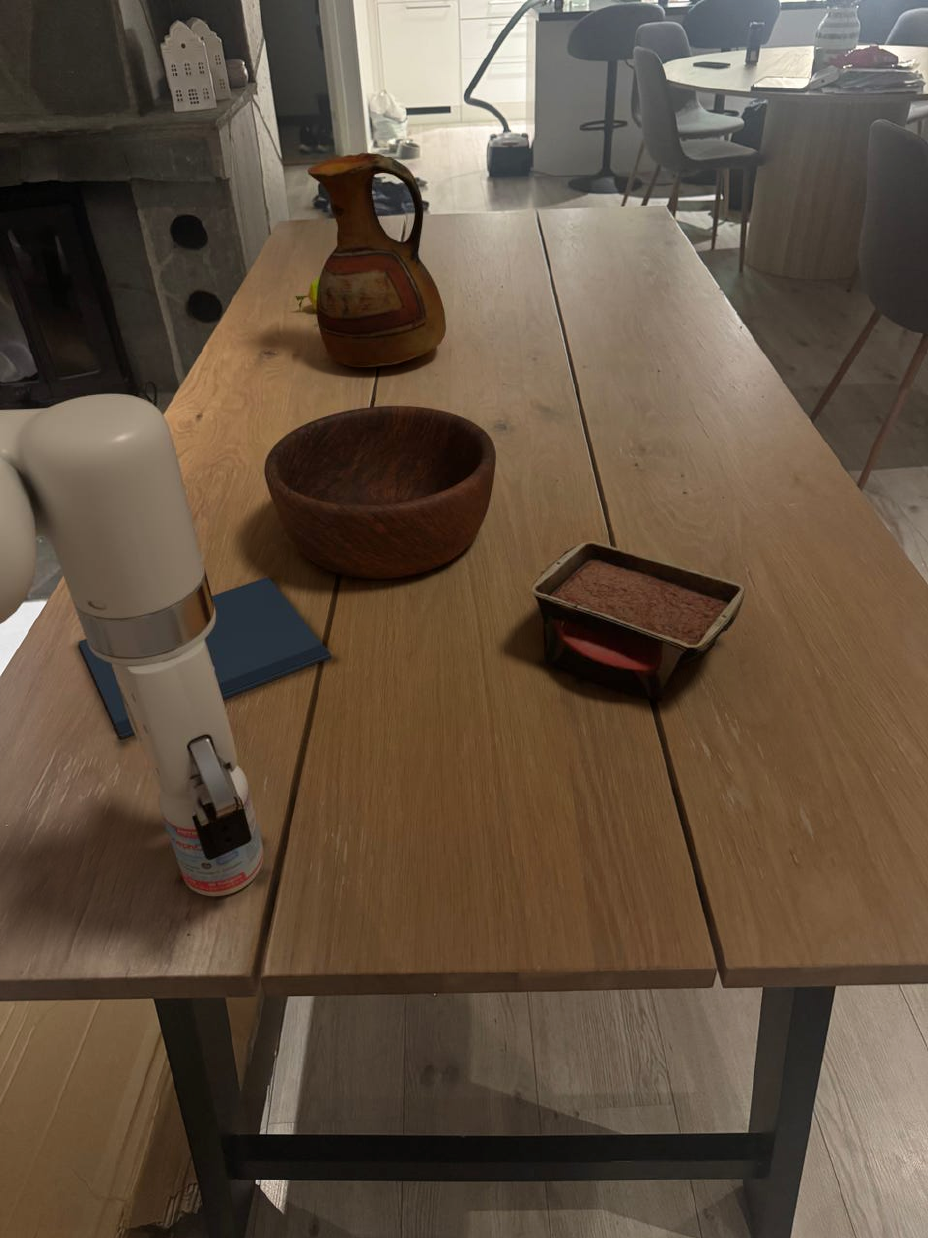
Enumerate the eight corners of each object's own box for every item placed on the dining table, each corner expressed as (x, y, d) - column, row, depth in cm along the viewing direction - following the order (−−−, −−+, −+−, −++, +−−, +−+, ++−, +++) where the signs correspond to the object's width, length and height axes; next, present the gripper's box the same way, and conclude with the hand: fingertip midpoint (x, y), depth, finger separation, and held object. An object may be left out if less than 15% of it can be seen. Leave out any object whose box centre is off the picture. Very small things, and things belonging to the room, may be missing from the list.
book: (121, 739, 80) (120, 735, 80) (79, 644, 91) (77, 640, 91) (331, 657, 88) (330, 653, 88) (268, 579, 99) (268, 575, 99)
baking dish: (602, 602, 97) (590, 519, 92) (765, 643, 86) (762, 552, 81) (522, 682, 89) (503, 597, 83) (690, 739, 78) (681, 645, 72)
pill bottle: (172, 898, 67) (133, 791, 60) (197, 832, 72) (163, 726, 65) (255, 901, 66) (224, 793, 60) (274, 834, 71) (248, 727, 64)
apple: (341, 266, 166) (291, 271, 164) (347, 298, 164) (297, 303, 163) (341, 289, 173) (293, 294, 171) (347, 319, 171) (298, 324, 170)
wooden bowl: (338, 470, 119) (328, 394, 113) (524, 496, 112) (524, 417, 105) (236, 574, 100) (217, 490, 94) (452, 614, 93) (447, 526, 87)
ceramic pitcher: (324, 339, 157) (298, 144, 139) (442, 331, 158) (431, 136, 140) (321, 384, 142) (292, 171, 124) (452, 375, 143) (442, 162, 125)
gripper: (50, 560, 59) (122, 755, 70) (122, 714, 47) (195, 922, 58) (166, 525, 62) (217, 717, 73) (260, 662, 50) (306, 869, 61)
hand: (207, 807), depth 65 cm, fingers open, 7 cm apart
